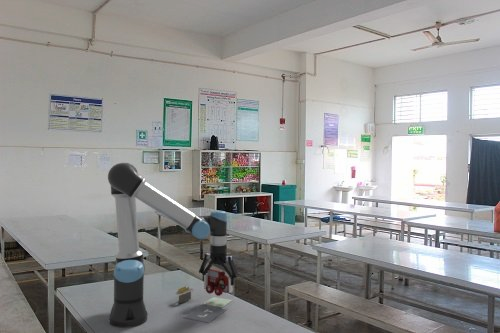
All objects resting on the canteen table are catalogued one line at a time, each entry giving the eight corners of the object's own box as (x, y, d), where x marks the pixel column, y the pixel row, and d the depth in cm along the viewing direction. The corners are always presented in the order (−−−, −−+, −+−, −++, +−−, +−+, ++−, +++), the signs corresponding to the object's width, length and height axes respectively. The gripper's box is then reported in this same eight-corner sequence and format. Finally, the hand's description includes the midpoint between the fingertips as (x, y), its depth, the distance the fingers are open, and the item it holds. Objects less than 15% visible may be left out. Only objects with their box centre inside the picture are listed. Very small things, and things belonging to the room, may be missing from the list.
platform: (160, 304, 187) (161, 290, 187) (186, 294, 203) (186, 280, 203) (180, 309, 181) (180, 295, 181) (205, 298, 196) (205, 285, 196)
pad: (222, 307, 183) (222, 306, 183) (203, 304, 187) (203, 303, 187) (232, 301, 192) (232, 300, 192) (213, 297, 196) (213, 297, 196)
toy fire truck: (224, 297, 183) (224, 274, 183) (202, 292, 190) (203, 270, 190) (233, 293, 189) (233, 271, 189) (212, 288, 196) (212, 267, 196)
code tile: (208, 322, 166) (208, 322, 166) (183, 317, 171) (183, 317, 171) (226, 310, 180) (226, 309, 180) (203, 305, 185) (203, 305, 185)
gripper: (245, 245, 188) (245, 291, 188) (200, 240, 198) (199, 284, 198) (238, 248, 181) (238, 296, 181) (191, 243, 191) (191, 288, 191)
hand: (218, 290), depth 190 cm, fingers closed on toy fire truck, 12 cm apart
